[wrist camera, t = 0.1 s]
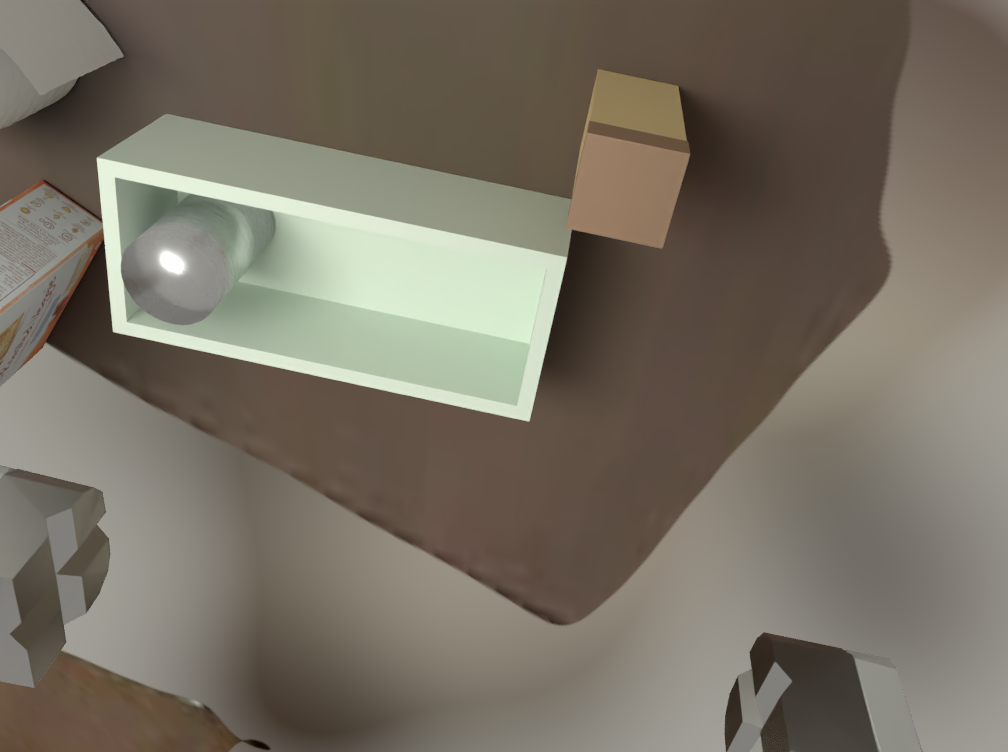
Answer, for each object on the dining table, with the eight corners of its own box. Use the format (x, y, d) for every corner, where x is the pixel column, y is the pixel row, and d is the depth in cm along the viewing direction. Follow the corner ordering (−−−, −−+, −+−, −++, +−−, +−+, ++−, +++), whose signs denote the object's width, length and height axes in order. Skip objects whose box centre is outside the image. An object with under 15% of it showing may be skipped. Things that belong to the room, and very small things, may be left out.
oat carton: (597, 68, 53) (587, 132, 42) (679, 85, 53) (690, 154, 42) (579, 148, 56) (565, 228, 45) (657, 164, 56) (662, 248, 45)
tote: (166, 113, 58) (96, 157, 51) (576, 200, 58) (567, 257, 50) (173, 272, 65) (113, 331, 57) (541, 350, 65) (529, 421, 57)
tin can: (190, 167, 59) (116, 225, 51) (276, 185, 59) (217, 246, 51) (192, 247, 62) (124, 313, 54) (274, 264, 62) (218, 333, 54)
